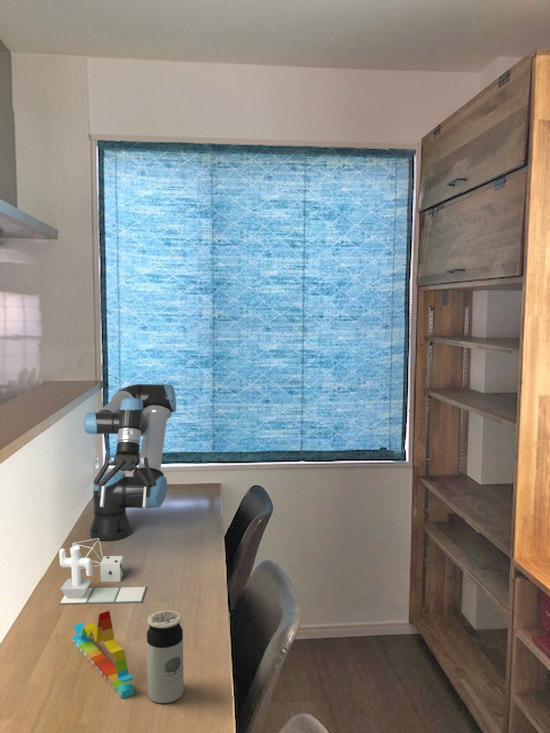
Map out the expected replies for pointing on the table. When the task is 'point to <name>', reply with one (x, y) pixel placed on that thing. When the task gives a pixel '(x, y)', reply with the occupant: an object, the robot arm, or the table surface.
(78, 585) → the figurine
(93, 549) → the geometric polyhedron
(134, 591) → the game mat
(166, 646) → the travel mug
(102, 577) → the die
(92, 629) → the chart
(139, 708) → the table surface
